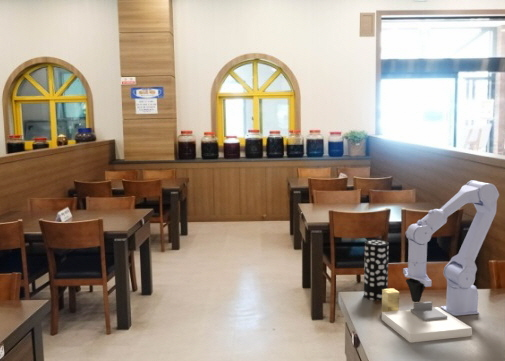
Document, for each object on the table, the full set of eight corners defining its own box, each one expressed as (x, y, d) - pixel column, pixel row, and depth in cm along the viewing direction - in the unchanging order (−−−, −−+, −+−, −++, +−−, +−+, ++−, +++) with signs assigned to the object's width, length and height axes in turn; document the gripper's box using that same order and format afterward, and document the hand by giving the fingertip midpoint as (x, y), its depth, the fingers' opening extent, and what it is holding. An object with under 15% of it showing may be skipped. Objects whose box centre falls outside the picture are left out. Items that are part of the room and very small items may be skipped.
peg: (392, 311, 179) (393, 288, 178) (398, 315, 175) (399, 292, 174) (381, 312, 178) (382, 289, 177) (387, 316, 174) (387, 293, 173)
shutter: (433, 309, 173) (433, 301, 173) (447, 318, 165) (447, 309, 165) (410, 311, 171) (410, 303, 171) (423, 320, 164) (424, 312, 163)
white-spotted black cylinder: (383, 302, 188) (384, 246, 186) (360, 297, 192) (361, 243, 190) (390, 295, 195) (391, 241, 193) (368, 291, 199) (369, 238, 197)
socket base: (437, 314, 176) (437, 307, 176) (471, 335, 159) (471, 327, 158) (381, 319, 172) (381, 312, 171) (410, 342, 154) (410, 334, 154)
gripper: (395, 256, 180) (394, 295, 182) (417, 267, 166) (416, 310, 168) (414, 254, 182) (413, 293, 183) (438, 266, 168) (436, 308, 169)
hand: (416, 301), depth 176 cm, fingers closed
